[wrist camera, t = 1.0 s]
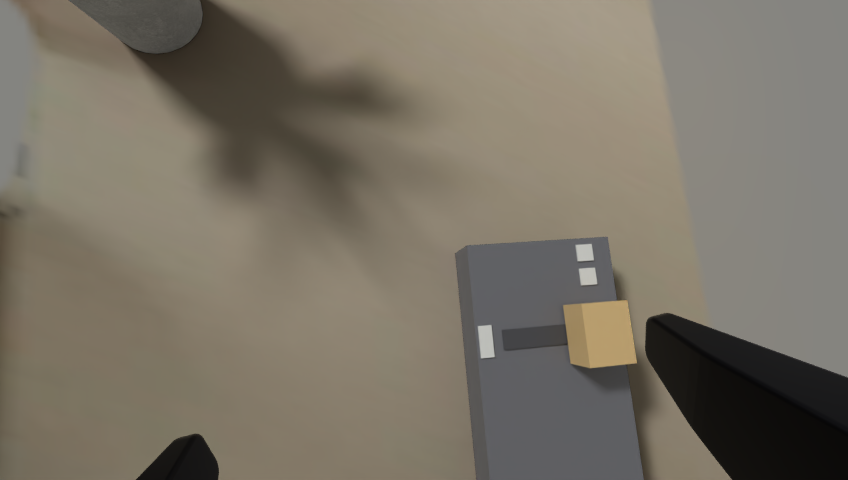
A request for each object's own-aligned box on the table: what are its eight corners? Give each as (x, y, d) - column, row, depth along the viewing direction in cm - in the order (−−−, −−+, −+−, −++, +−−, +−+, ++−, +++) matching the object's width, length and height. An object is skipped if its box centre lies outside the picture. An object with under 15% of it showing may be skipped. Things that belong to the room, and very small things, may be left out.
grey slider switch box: (637, 645, 24) (676, 693, 21) (494, 675, 23) (515, 731, 20) (581, 245, 27) (608, 236, 24) (455, 253, 26) (467, 245, 23)
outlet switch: (613, 359, 23) (636, 363, 21) (570, 363, 23) (590, 368, 21) (605, 301, 23) (627, 300, 22) (562, 304, 23) (581, 304, 21)
